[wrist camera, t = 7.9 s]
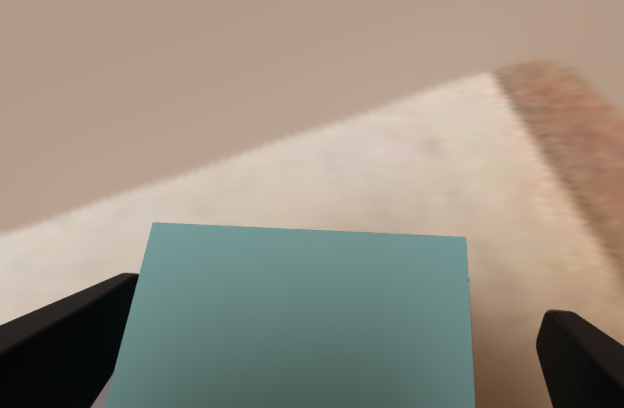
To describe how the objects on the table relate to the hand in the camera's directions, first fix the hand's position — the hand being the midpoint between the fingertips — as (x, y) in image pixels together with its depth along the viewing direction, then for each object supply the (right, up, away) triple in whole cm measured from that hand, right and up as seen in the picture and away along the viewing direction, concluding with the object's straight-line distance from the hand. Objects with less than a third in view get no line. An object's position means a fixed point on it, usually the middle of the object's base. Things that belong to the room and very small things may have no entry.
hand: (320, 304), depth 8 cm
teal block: (+1, -3, +3) cm, 4 cm away
